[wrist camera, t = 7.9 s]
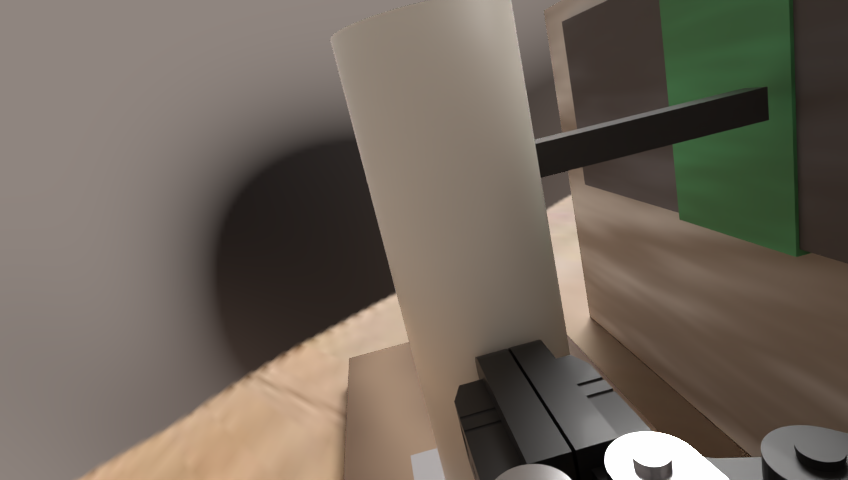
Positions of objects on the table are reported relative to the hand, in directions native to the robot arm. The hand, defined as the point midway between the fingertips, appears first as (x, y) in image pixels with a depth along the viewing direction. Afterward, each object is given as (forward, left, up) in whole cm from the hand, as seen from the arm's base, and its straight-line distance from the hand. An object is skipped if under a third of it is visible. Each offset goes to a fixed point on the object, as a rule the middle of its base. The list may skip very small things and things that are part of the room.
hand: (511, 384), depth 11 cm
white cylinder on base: (+2, +2, -7) cm, 7 cm away
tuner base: (+2, +1, -9) cm, 9 cm away
